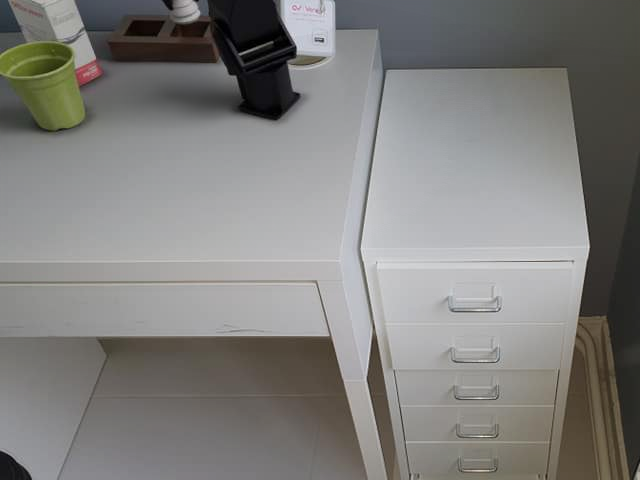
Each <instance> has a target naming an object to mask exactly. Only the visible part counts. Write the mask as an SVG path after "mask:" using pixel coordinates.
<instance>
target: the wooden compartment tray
mask: <svg viewBox="0 0 640 480" xmlns="http://www.w3.org/2000/svg"><path fill="white" fill-rule="evenodd" d="M170 15H171V14H129V13H128V14H123V17H122V18H121V20H120V21H119V23H118V24H117V26H116V27H115V28H114V30H113V32H112V33H111V35H110V36H109V38H108V39H107V41H106V43H107V46H108V48H109V50H110V53H111V56H112V59H113V61H114V62H153V63H154V62H156V63H159V62H161V63H210V64H211V63H212V64H213V63H218V62H219V59H220V58H221V57H220V54H219V52H218V49H217V47H216V44H215V42H214V40H213V38H212V35H211V32H210V30H211V29H210V22H211V17H209V15H200V16H199V18H198V20H196V21H195V22H192V23H190V24H177V23H175V22H174V21H172V20H171V19H170Z"/></svg>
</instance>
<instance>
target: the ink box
mask: <svg viewBox="0 0 640 480" xmlns="http://www.w3.org/2000/svg"><path fill="white" fill-rule="evenodd" d="M7 1H8V4H9V5H10V7H11V10H12V13H13V15H14V18H15V19H16V21H17V23H18V26H19V28H20V30H21V32H22V34H23V37H24V39H25V41H26V43H31V42H39V41H55V42H60V43H64V44H66V45H68V46H70V47H71V48H72V49H73V50H74V52H75V59H74V63H75V74H76V78H77V82H78V86H79V88H80V87H82V86H84V85H85V84H88V83H89V82H91V81H93V80H95V79H97V78H99V77H100V76H102V75H103V73H102V69H101V67H100V64H99V62H98V60H97V56H96V54H95V51H94V48H93V46H92V44H91V41H90V38H89V36H88V33H87V31H86V28H85V25H84V22H83V19H82V17H81V14H80V12H79V9H78V7H77V3H76V1H75V0H7Z"/></svg>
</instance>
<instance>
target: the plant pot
mask: <svg viewBox="0 0 640 480" xmlns="http://www.w3.org/2000/svg"><path fill="white" fill-rule="evenodd" d="M74 59H75V52H74V50H73V49H72V48H71V47H70V46H68V45H66V44H64V43H60V42H55V41H39V42H31V43H27V42H26V43H23V44H19V45H16V46H14V47H11V48H9V49H7V50H5V51H4V52H2V53H1V54H0V76H1V77H3V78H4V80H5V81H6V82H7V83H8V84H9V85H11V87H12V88H13V90H14V91H15V92H16V94H17V95H18V97H19V98H20V100H21V101H22V102H23V104H24V105H25V107H26V108H27V109H28V111H29V113H30V114H31V115H32V117H33V119H34V120H35V122H36V123H37V124H38V126H39V127H40V128H42V129H44V130H47V131H58V130H60V129H71V128H74V127H76V126H77V125H80V124H81V123H82V122H83V121H84V120H85V118H86V109H85V105H84V101H83V98H82V93H81V90H80V87H79V86H78V82H77V78H76V74H75V63H74Z"/></svg>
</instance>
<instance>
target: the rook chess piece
mask: <svg viewBox="0 0 640 480" xmlns="http://www.w3.org/2000/svg"><path fill="white" fill-rule="evenodd" d="M171 2H172V7H173V10H171V11H170V10H169V9H168V8H167V11H168V15H170V19H171V20H172V21H174V22H175V23H177V24H190V23H192V22H195V21H196V20H198V18H199V16H201V10H199V5H198V3H197V2H196V1H194V0H171Z"/></svg>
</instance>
